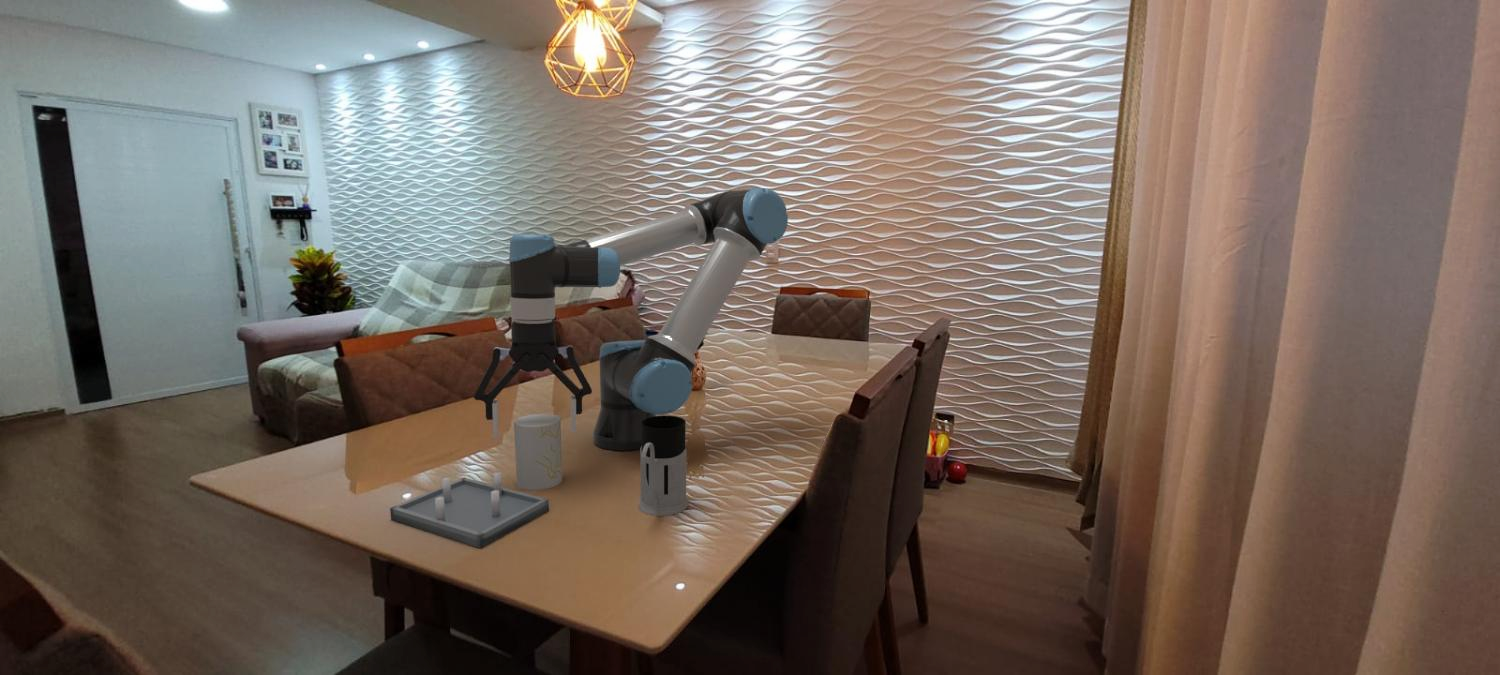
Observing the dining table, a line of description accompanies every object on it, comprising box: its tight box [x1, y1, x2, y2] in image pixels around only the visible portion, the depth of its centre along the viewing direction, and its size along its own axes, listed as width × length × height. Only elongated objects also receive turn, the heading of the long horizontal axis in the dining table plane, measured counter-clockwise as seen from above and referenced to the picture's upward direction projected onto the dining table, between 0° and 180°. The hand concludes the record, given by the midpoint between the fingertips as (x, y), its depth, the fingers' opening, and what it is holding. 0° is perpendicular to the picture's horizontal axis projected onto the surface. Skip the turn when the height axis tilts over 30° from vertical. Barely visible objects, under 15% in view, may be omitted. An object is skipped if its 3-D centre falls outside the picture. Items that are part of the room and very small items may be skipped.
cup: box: [513, 413, 563, 491], centre depth 111 cm, size 8×8×12 cm
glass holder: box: [637, 415, 690, 517], centre depth 99 cm, size 9×14×15 cm, turn 169°
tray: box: [389, 471, 550, 549], centre depth 97 cm, size 20×14×5 cm
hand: (535, 433), depth 110 cm, fingers open, 13 cm apart
